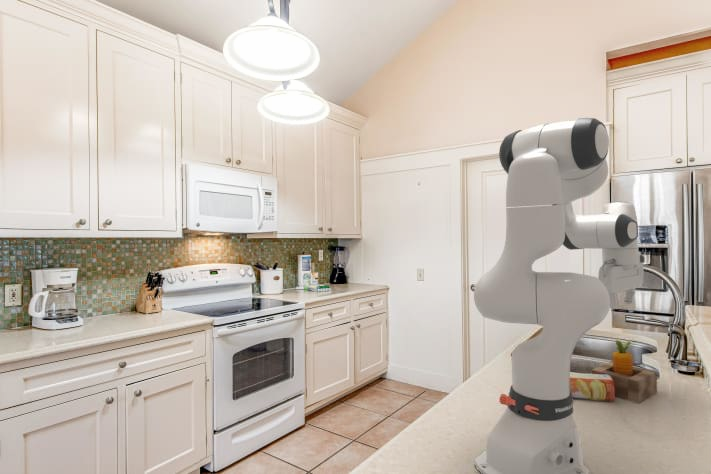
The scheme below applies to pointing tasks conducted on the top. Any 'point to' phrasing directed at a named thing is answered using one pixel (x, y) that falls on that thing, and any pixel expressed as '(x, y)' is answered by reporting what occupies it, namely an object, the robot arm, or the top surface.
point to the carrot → (622, 360)
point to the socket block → (631, 382)
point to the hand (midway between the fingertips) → (621, 305)
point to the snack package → (592, 386)
